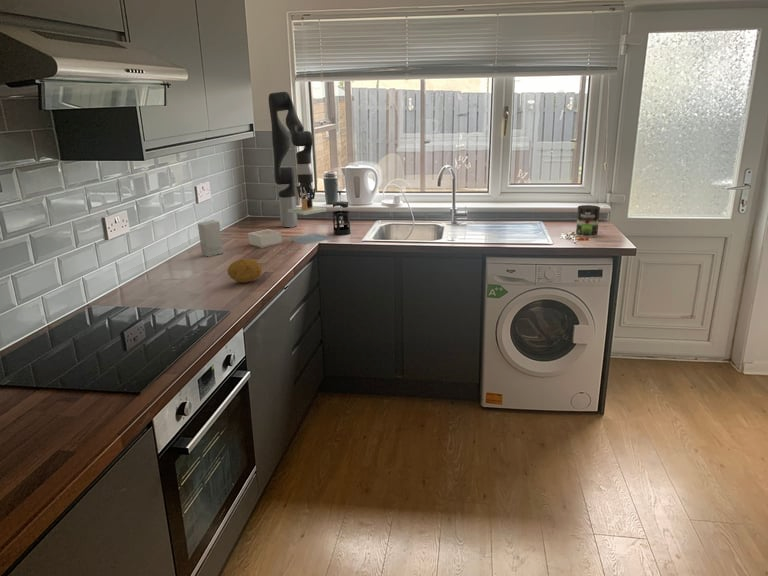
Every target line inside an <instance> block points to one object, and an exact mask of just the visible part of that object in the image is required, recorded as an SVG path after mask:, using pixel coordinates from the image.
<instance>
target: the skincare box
mask: <svg viewBox="0 0 768 576" xmlns="http://www.w3.org/2000/svg"><path fill="white" fill-rule="evenodd" d="M220 226H221V225H220V221H219V220H218V221H216V220H207V221H203V222H197V230H198V234H199V242H200V250H201V255H202V256H204V255H205V256H204V257H207V256H208V257H207V258H210V257H209V256H211V257H214V256H213V255H215V256H218V255H217V254H219V255H222V254H221V253H223V254H224V249H223V242H222V241H223V240H222V233H221V227H220Z"/></svg>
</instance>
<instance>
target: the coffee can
mask: <svg viewBox="0 0 768 576" xmlns="http://www.w3.org/2000/svg"><path fill="white" fill-rule="evenodd" d="M600 209H601V206H599V205H594V204H593V205H592V204H587V205H585V204H583V205H582V204H581V205H578V206H577V214H576V215H577V217H576V227H575V228H576V230H575V235H576V236H578V237H581V238H594V237H595V238H596V237H598V230H599V219H600Z"/></svg>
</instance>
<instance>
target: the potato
mask: <svg viewBox="0 0 768 576" xmlns="http://www.w3.org/2000/svg"><path fill="white" fill-rule="evenodd" d="M227 275H228V276H229V277H230V278H231V279H232V280H233V281H236V282H237V283H238V282H239V283H241V284H245V283H246V284H247V283H252V282H253V281H255V280H257V279H258V278H259V277H261V275H262V265H261V264H260V263H259V262H258V261H257V260H255V259H252V258H241V259H238V260H235V261H234V262H232V263H231V264H230V265H229V266H228V268H227Z"/></svg>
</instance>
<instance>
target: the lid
mask: <svg viewBox="0 0 768 576" xmlns="http://www.w3.org/2000/svg"><path fill="white" fill-rule="evenodd" d="M300 199H301V198H300ZM307 201H308V200H307V198H306V199H301V201H300V202H301V207H296V208H294V209H288V212H291V213H296V214H297V215H302V216H306V215H308V216H309V215H312V214H318V213H325V212H327V211H328V210H327V209H328V208H325V207H319V206H314V205H313V202H312V207H311V208H308V205H307Z"/></svg>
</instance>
